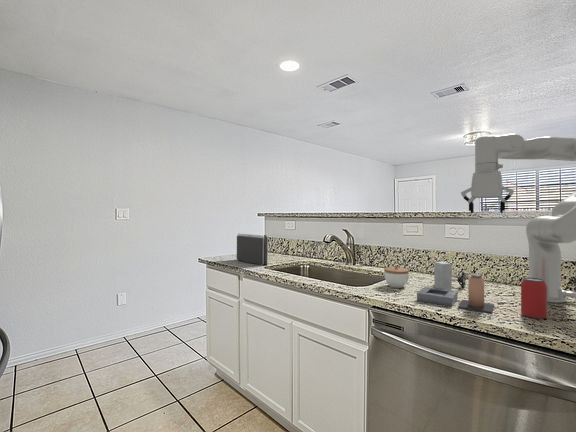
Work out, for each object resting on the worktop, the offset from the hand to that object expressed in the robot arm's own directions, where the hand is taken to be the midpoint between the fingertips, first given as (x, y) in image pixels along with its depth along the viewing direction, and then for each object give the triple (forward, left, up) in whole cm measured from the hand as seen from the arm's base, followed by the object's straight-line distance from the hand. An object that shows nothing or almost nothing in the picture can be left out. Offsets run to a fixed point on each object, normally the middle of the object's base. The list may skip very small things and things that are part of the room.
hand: (486, 212), depth 120 cm
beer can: (-14, +15, -34) cm, 39 cm away
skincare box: (+16, -3, -34) cm, 37 cm away
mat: (+2, +15, -33) cm, 37 cm away
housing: (+15, +13, -33) cm, 39 cm away
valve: (+15, -14, -34) cm, 39 cm away
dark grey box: (+135, -18, -34) cm, 140 cm away
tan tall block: (+2, +15, -33) cm, 36 cm away
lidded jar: (+35, 0, -34) cm, 48 cm away
